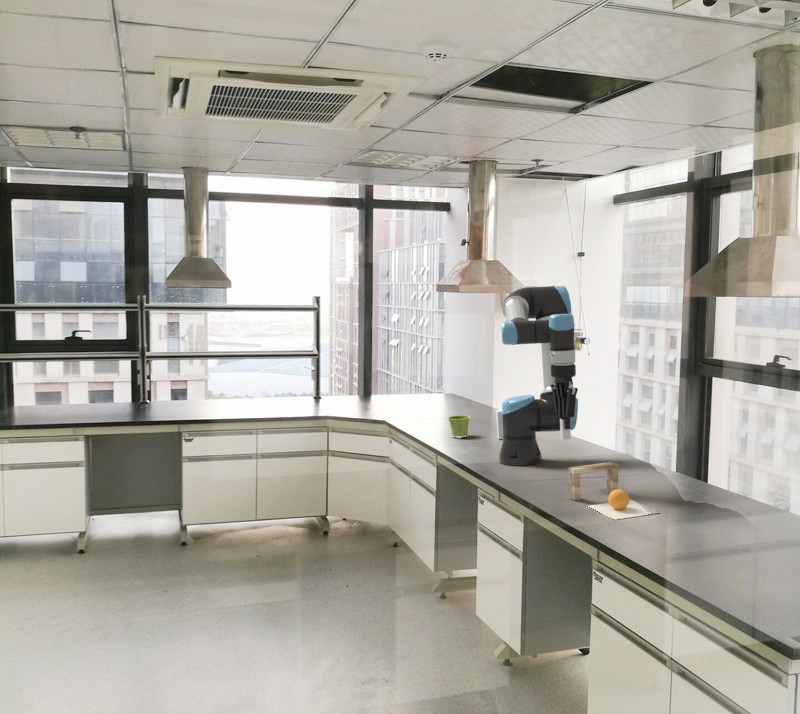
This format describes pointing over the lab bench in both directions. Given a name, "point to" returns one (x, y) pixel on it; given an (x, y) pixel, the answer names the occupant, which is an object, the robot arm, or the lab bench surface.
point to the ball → (618, 499)
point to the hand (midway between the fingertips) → (565, 438)
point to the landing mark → (627, 512)
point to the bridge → (575, 471)
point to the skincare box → (499, 424)
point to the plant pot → (459, 425)
